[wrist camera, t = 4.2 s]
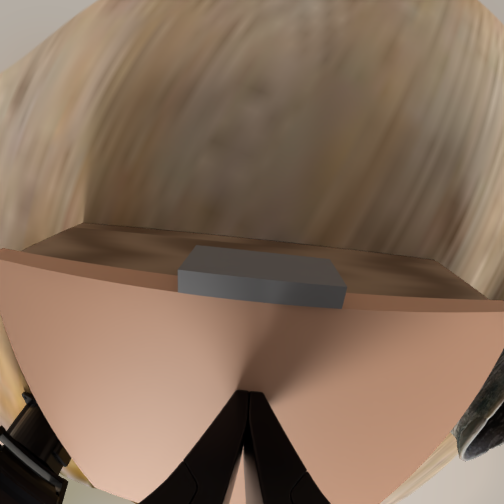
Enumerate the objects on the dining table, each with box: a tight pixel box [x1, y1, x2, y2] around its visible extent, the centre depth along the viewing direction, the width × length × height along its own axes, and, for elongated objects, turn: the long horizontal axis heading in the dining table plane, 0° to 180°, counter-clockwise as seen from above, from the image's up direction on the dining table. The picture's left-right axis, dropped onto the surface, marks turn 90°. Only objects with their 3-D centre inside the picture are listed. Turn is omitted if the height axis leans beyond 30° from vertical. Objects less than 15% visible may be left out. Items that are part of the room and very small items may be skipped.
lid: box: [0, 245, 504, 504], centre depth 10 cm, size 20×19×2 cm
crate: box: [21, 223, 489, 300], centre depth 14 cm, size 20×18×6 cm
